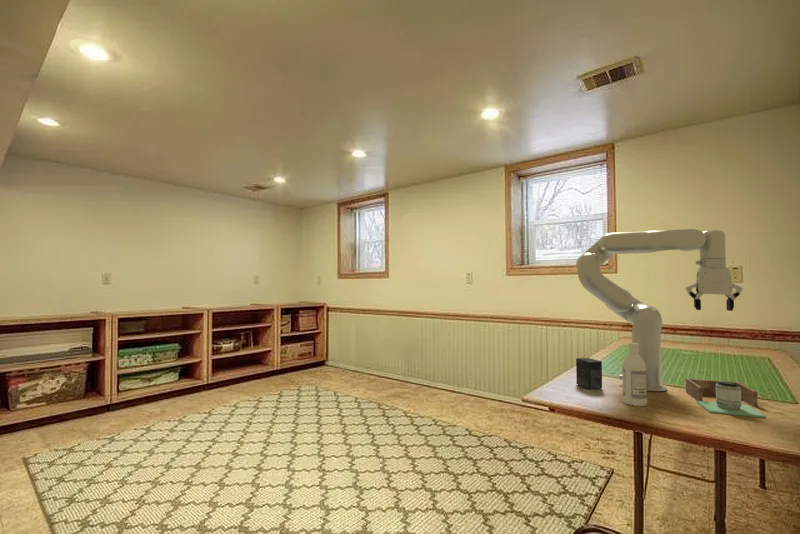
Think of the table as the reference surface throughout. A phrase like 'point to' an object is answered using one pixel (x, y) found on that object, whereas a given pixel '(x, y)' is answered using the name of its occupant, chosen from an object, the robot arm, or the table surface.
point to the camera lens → (728, 395)
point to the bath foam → (634, 378)
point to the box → (589, 373)
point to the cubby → (709, 387)
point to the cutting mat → (743, 411)
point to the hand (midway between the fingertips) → (713, 310)
